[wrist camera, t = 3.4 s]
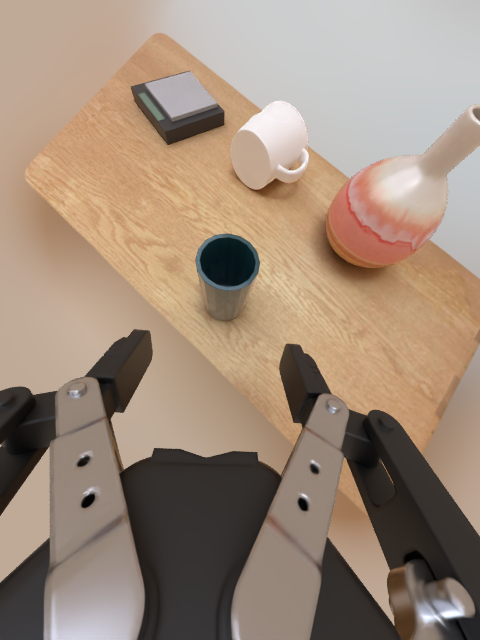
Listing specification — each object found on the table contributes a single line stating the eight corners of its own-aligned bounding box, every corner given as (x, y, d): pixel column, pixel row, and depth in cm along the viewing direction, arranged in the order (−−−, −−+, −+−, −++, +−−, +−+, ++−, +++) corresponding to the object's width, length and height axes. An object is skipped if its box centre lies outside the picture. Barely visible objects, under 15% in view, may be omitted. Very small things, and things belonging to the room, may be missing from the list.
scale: (167, 144, 35) (164, 127, 32) (134, 101, 36) (128, 81, 34) (224, 124, 37) (224, 107, 35) (190, 85, 39) (189, 65, 37)
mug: (225, 170, 35) (227, 113, 27) (256, 144, 37) (266, 85, 29) (278, 210, 34) (296, 162, 26) (307, 180, 36) (331, 129, 28)
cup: (218, 328, 27) (219, 302, 17) (196, 296, 28) (183, 251, 18) (251, 307, 29) (271, 270, 18) (229, 276, 29) (236, 224, 19)
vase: (361, 297, 31) (533, 209, 14) (296, 242, 32) (382, 102, 15) (400, 246, 35) (576, 126, 18) (340, 198, 36) (450, 45, 19)
